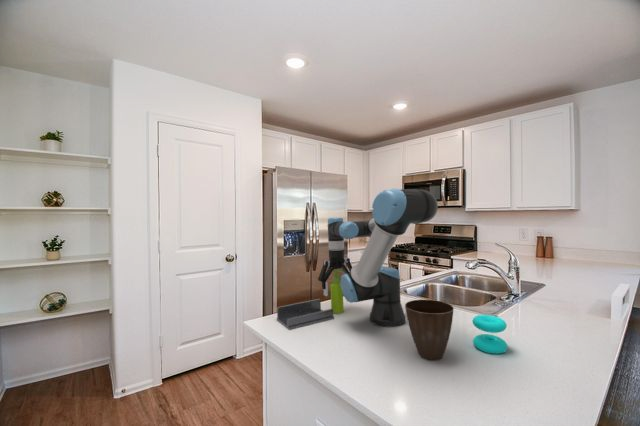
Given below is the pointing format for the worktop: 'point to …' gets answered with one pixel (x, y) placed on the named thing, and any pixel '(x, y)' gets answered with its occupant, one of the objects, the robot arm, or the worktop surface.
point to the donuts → (489, 341)
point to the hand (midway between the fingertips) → (337, 293)
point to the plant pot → (430, 326)
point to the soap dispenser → (336, 294)
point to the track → (303, 314)
